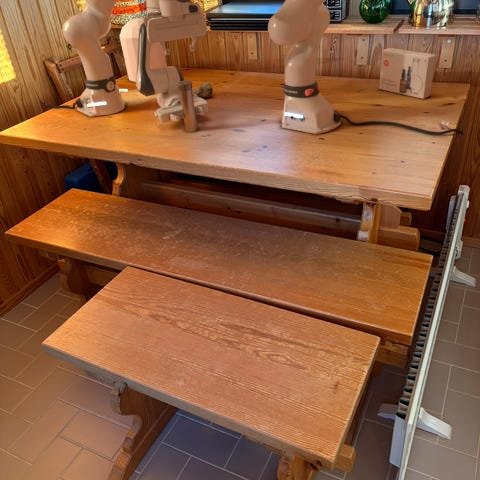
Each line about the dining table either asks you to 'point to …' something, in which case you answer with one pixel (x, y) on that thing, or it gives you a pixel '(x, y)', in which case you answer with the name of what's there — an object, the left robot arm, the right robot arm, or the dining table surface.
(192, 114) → the brown cylinder
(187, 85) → the lid
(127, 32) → the container
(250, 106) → the dining table surface
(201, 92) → the rock
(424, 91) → the skincare box
